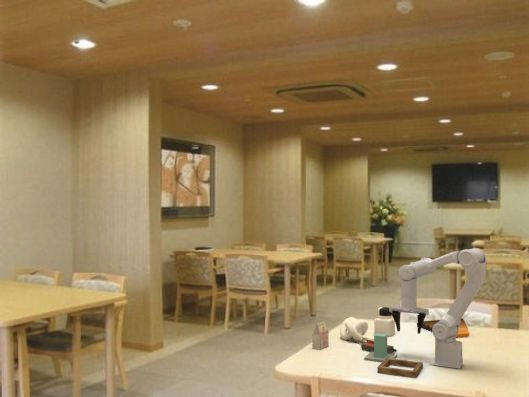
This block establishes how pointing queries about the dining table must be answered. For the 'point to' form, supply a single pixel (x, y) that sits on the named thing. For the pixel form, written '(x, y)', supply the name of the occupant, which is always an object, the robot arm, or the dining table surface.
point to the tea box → (320, 337)
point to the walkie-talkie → (370, 346)
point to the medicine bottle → (384, 322)
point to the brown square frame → (413, 373)
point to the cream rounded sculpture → (353, 329)
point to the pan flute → (429, 324)
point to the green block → (380, 345)
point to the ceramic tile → (371, 357)
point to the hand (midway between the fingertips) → (408, 332)
